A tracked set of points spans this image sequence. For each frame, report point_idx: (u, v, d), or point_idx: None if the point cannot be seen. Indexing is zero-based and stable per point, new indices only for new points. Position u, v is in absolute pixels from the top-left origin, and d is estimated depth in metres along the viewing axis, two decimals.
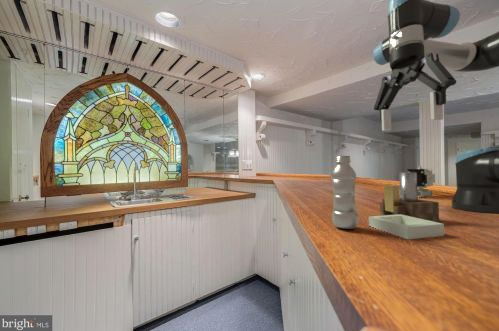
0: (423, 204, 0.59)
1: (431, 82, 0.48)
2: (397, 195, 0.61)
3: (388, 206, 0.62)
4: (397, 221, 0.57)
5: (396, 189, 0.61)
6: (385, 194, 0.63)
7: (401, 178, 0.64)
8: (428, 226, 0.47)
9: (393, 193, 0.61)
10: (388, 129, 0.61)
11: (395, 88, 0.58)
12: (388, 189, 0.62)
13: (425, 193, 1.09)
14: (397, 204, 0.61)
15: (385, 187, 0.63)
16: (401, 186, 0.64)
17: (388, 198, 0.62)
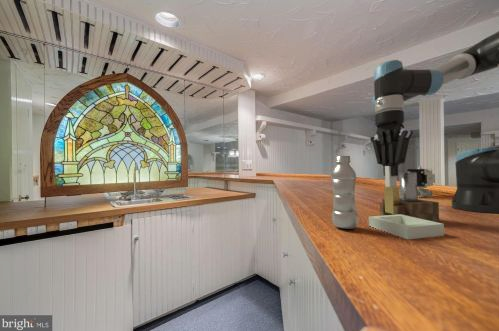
0: (423, 204, 0.59)
1: (391, 157, 0.61)
2: (397, 197, 0.61)
3: (388, 208, 0.62)
4: (397, 221, 0.57)
5: (397, 191, 0.61)
6: (385, 196, 0.63)
7: (401, 178, 0.64)
8: (428, 226, 0.47)
9: (393, 195, 0.61)
10: None
11: (387, 144, 0.63)
12: (388, 190, 0.62)
13: (425, 193, 1.09)
14: None
15: (385, 189, 0.63)
16: (401, 186, 0.64)
17: (388, 200, 0.62)
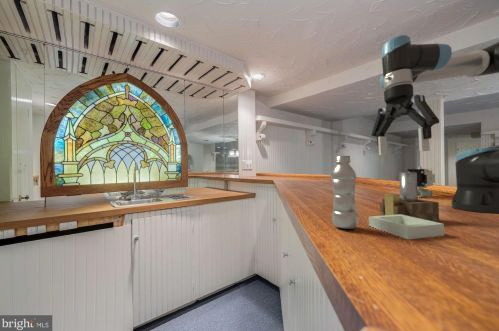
0: (423, 204, 0.59)
1: (419, 120, 0.57)
2: (397, 203, 0.61)
3: (388, 214, 0.62)
4: (397, 221, 0.57)
5: (397, 198, 0.61)
6: (385, 202, 0.63)
7: (401, 178, 0.64)
8: (428, 226, 0.47)
9: (393, 202, 0.61)
10: (384, 153, 0.70)
11: (389, 119, 0.67)
12: (388, 197, 0.62)
13: (425, 193, 1.09)
14: None
15: (385, 195, 0.63)
16: (401, 186, 0.64)
17: (388, 206, 0.62)
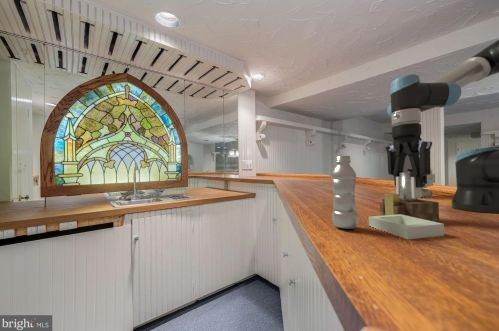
0: (423, 204, 0.59)
1: (415, 168, 0.60)
2: (397, 203, 0.61)
3: (388, 214, 0.62)
4: (397, 221, 0.57)
5: (397, 198, 0.61)
6: (385, 202, 0.63)
7: (401, 178, 0.64)
8: (428, 226, 0.47)
9: (393, 202, 0.61)
10: None
11: (401, 156, 0.66)
12: (388, 197, 0.62)
13: (425, 193, 1.09)
14: None
15: (385, 195, 0.63)
16: (401, 186, 0.64)
17: (388, 206, 0.62)
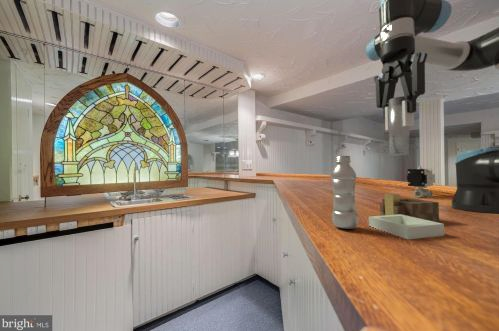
0: (423, 204, 0.59)
1: (406, 89, 0.50)
2: (397, 203, 0.61)
3: (388, 214, 0.62)
4: (397, 221, 0.57)
5: (397, 198, 0.61)
6: (385, 202, 0.63)
7: (390, 105, 0.53)
8: (428, 226, 0.47)
9: (393, 202, 0.61)
10: None
11: (391, 82, 0.55)
12: (388, 197, 0.62)
13: (425, 193, 1.09)
14: None
15: (385, 195, 0.63)
16: (390, 115, 0.53)
17: (388, 206, 0.62)
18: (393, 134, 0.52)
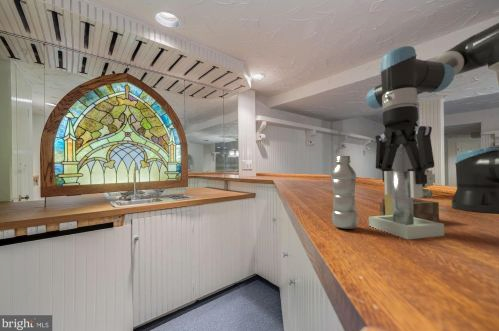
0: (423, 204, 0.59)
1: (414, 160, 0.48)
2: None
3: (388, 214, 0.62)
4: None
5: None
6: (385, 202, 0.63)
7: (393, 178, 0.52)
8: (428, 226, 0.47)
9: None
10: (391, 193, 0.56)
11: (392, 147, 0.54)
12: (388, 197, 0.62)
13: (425, 193, 1.09)
14: None
15: (385, 195, 0.63)
16: (393, 188, 0.52)
17: (388, 206, 0.62)
18: (397, 208, 0.51)
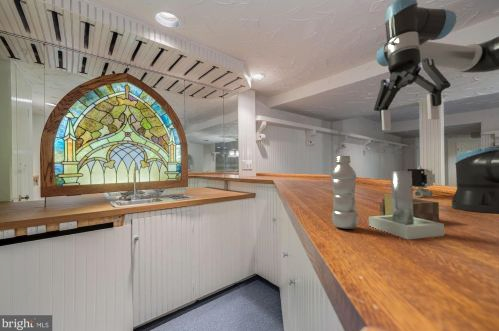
0: (423, 204, 0.59)
1: (427, 85, 0.52)
2: None
3: (388, 214, 0.62)
4: None
5: None
6: (385, 202, 0.63)
7: (393, 178, 0.52)
8: (428, 226, 0.47)
9: None
10: (388, 128, 0.65)
11: (394, 90, 0.62)
12: (388, 197, 0.62)
13: (425, 193, 1.09)
14: None
15: (385, 195, 0.63)
16: (393, 188, 0.52)
17: (388, 206, 0.62)
18: (397, 208, 0.51)
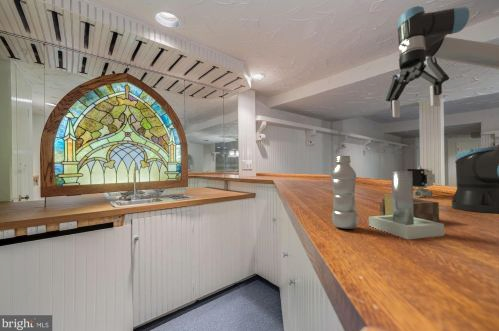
0: (423, 204, 0.59)
1: (431, 78, 0.65)
2: None
3: (388, 214, 0.62)
4: None
5: None
6: (385, 202, 0.63)
7: (393, 178, 0.52)
8: (428, 226, 0.47)
9: None
10: (397, 115, 0.78)
11: (403, 83, 0.75)
12: (388, 197, 0.62)
13: (425, 193, 1.09)
14: None
15: (385, 195, 0.63)
16: (393, 188, 0.52)
17: (388, 206, 0.62)
18: (397, 208, 0.51)
